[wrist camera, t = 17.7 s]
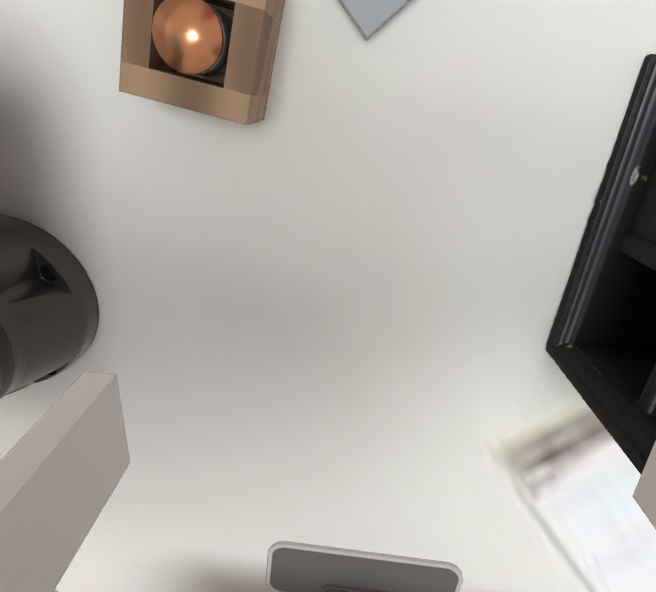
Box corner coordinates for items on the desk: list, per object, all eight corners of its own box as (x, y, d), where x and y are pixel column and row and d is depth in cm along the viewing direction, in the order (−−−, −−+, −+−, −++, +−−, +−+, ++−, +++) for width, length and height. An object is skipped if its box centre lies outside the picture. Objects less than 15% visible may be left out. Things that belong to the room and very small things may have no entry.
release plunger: (178, 68, 32) (149, 63, 27) (185, 1, 30) (155, -16, 26) (236, 83, 32) (216, 81, 27) (245, 17, 30) (226, 4, 26)
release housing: (157, 91, 34) (118, 91, 29) (167, -37, 31) (127, -65, 25) (263, 119, 35) (246, 124, 29) (285, -4, 31) (270, -25, 26)
